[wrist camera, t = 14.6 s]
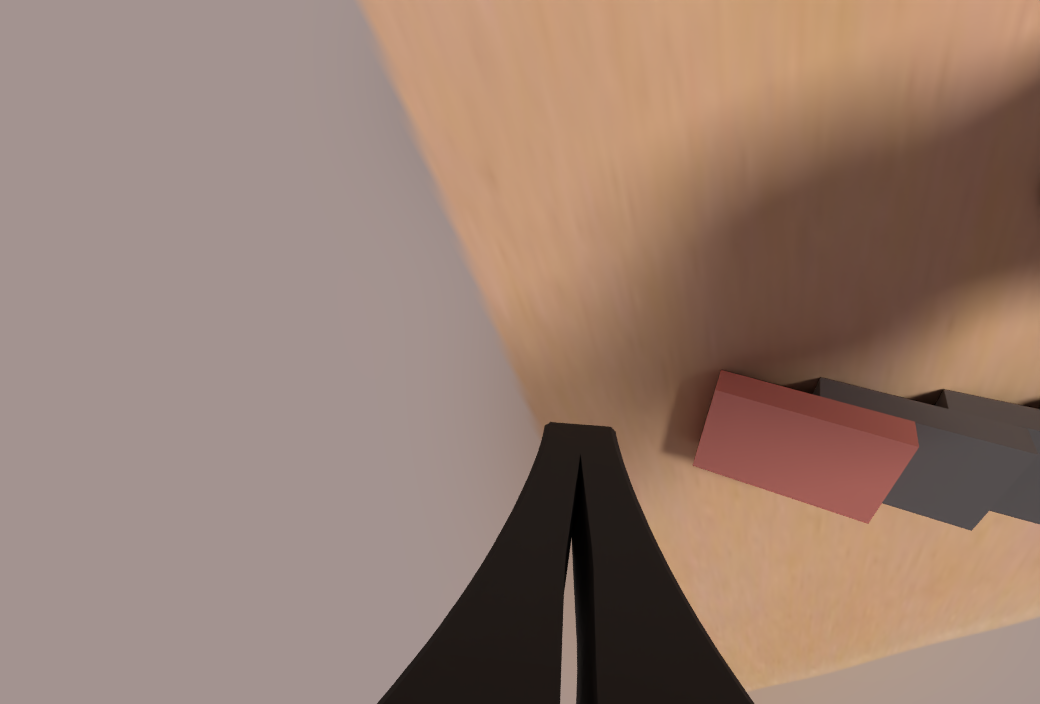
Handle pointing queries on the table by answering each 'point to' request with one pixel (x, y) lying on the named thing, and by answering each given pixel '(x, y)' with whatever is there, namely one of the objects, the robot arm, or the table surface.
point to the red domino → (804, 445)
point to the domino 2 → (1036, 488)
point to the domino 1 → (947, 456)
